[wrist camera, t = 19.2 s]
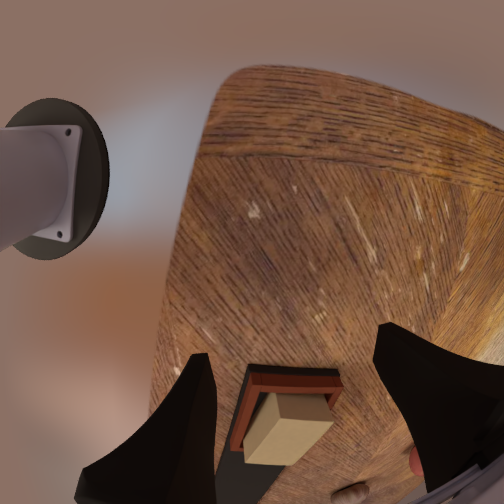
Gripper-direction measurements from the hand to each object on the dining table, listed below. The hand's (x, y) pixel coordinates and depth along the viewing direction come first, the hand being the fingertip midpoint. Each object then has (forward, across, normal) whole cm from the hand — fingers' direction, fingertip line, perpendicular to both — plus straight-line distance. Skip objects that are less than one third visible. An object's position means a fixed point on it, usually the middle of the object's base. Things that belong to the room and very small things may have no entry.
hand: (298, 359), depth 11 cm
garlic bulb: (+10, -13, +49) cm, 52 cm away
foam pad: (+8, 0, +15) cm, 17 cm away
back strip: (+9, +4, +28) cm, 30 cm away
